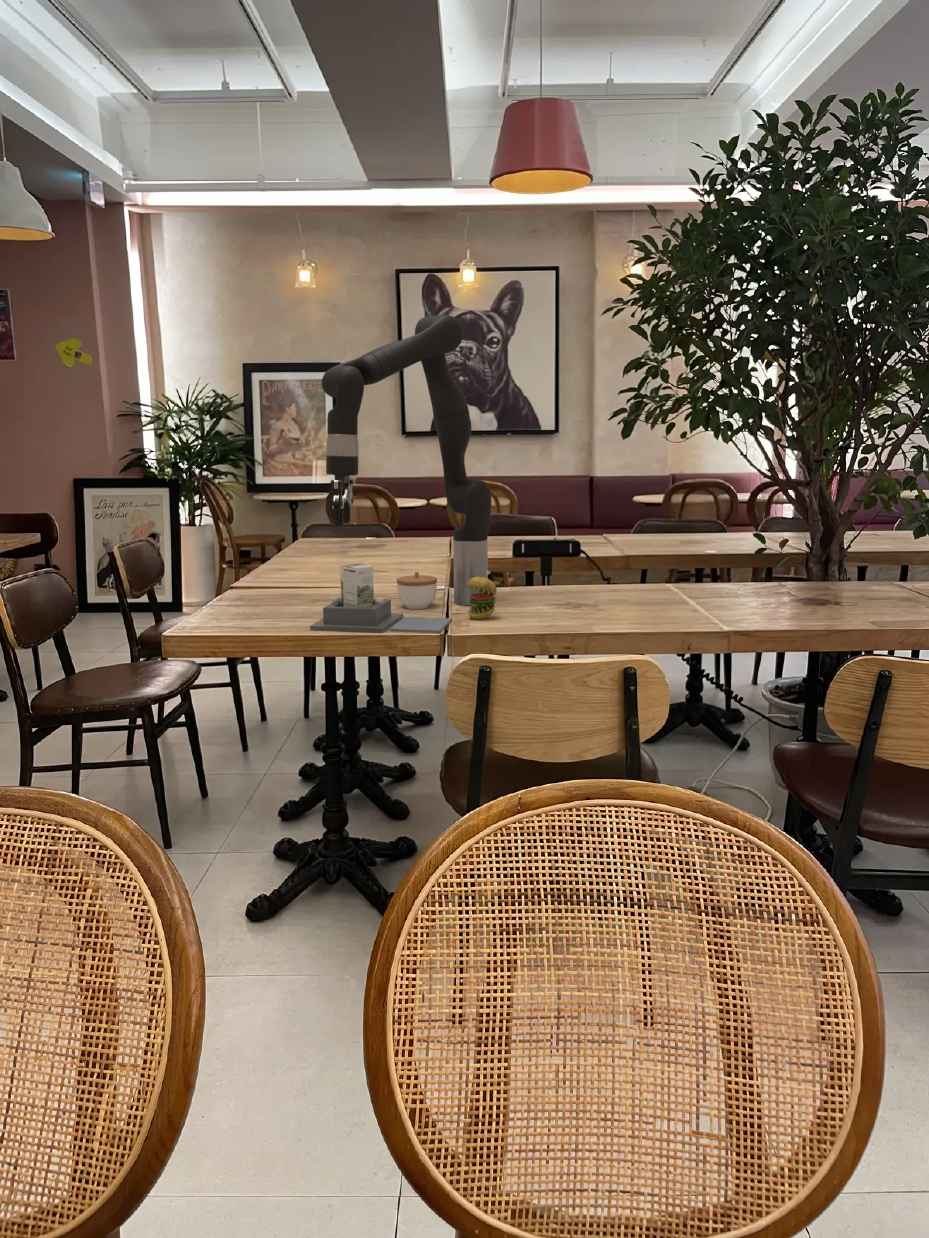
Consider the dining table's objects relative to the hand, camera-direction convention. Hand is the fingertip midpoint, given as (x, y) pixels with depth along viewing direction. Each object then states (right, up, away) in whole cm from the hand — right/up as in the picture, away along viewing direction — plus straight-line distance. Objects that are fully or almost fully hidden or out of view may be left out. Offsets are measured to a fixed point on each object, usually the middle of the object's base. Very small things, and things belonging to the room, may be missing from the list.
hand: (341, 523), depth 214 cm
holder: (+3, -24, +6) cm, 25 cm away
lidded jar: (+17, -20, +27) cm, 37 cm away
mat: (+19, -24, +3) cm, 31 cm away
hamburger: (+33, -23, +12) cm, 42 cm away
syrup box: (+3, -24, +6) cm, 25 cm away
